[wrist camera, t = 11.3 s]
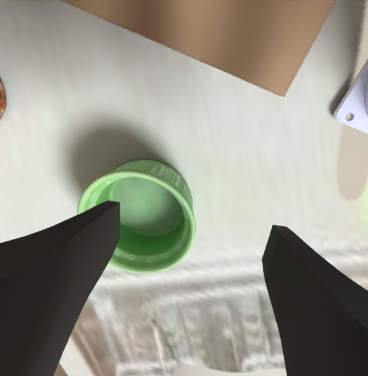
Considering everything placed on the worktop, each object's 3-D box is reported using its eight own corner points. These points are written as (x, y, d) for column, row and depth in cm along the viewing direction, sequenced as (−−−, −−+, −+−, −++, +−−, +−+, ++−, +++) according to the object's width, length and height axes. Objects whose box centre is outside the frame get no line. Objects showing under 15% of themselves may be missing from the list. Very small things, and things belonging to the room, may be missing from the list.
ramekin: (84, 167, 21) (54, 187, 17) (181, 140, 20) (174, 156, 16) (122, 248, 25) (105, 281, 21) (209, 232, 23) (209, 265, 19)
